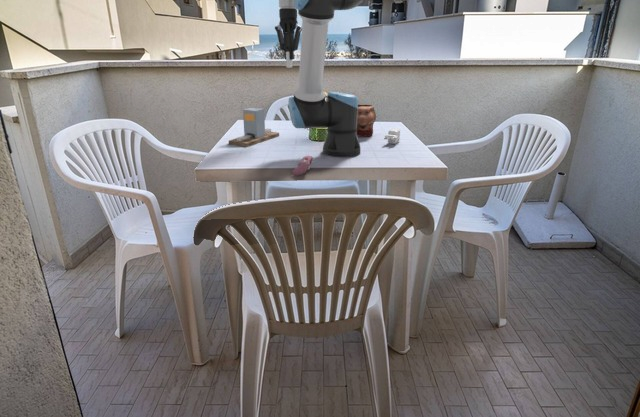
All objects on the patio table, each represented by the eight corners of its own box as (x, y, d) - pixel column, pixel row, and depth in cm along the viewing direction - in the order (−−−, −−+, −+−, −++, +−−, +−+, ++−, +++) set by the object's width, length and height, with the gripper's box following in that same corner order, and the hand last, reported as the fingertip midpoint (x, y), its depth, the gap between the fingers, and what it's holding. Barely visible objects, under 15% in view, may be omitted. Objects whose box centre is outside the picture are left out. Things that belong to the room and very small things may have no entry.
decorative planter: (347, 129, 207) (348, 101, 201) (372, 130, 207) (373, 101, 201) (351, 139, 188) (352, 108, 183) (377, 139, 188) (379, 108, 183)
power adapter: (392, 147, 174) (393, 133, 172) (381, 146, 176) (382, 132, 174) (400, 142, 183) (401, 128, 181) (390, 140, 185) (391, 127, 183)
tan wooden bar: (267, 131, 194) (266, 128, 194) (271, 132, 193) (271, 129, 193) (237, 141, 176) (236, 137, 176) (241, 141, 175) (241, 138, 175)
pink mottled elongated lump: (302, 181, 137) (311, 163, 135) (290, 174, 137) (299, 157, 134) (308, 172, 146) (317, 155, 144) (297, 166, 146) (305, 149, 143)
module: (252, 134, 189) (251, 107, 184) (265, 136, 186) (264, 109, 181) (244, 137, 184) (242, 109, 179) (256, 138, 181) (255, 111, 176)
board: (261, 133, 197) (261, 130, 197) (279, 135, 193) (279, 132, 192) (228, 144, 178) (228, 140, 177) (247, 146, 173) (247, 143, 173)
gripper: (306, 8, 173) (306, 67, 182) (280, 9, 179) (281, 66, 188) (296, 7, 167) (297, 68, 176) (270, 8, 173) (272, 67, 182)
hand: (289, 67), depth 182 cm, fingers closed
